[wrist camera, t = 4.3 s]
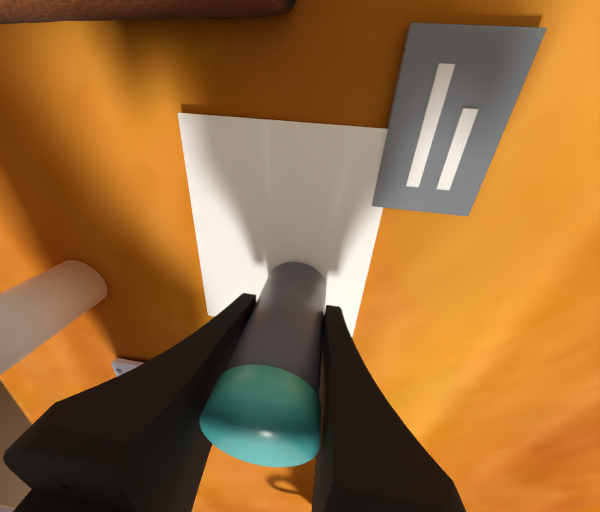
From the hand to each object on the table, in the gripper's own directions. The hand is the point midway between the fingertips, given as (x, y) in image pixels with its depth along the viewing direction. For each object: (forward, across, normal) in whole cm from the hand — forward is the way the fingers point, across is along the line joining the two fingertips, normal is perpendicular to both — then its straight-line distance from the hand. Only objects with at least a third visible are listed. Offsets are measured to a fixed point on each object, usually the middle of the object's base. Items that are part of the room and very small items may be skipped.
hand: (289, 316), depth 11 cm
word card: (+3, -5, -8) cm, 10 cm away
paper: (+3, +1, -2) cm, 4 cm away
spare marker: (+3, +14, +2) cm, 14 cm away
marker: (+2, 0, 0) cm, 2 cm away
